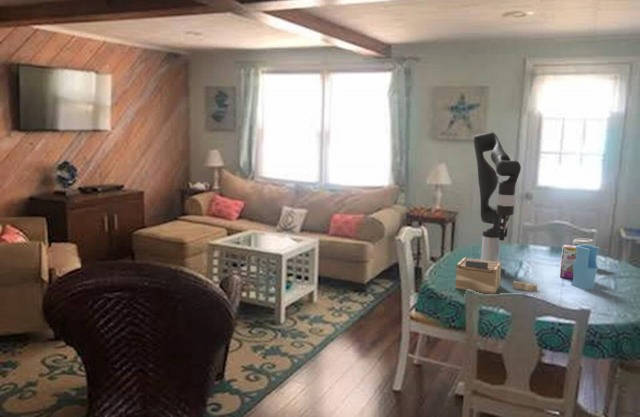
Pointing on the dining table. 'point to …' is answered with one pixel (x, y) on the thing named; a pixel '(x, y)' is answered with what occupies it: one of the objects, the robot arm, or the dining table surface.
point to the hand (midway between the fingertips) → (503, 238)
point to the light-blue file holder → (585, 267)
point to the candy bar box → (568, 261)
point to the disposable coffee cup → (583, 242)
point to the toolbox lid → (478, 265)
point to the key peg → (524, 286)
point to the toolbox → (478, 279)
